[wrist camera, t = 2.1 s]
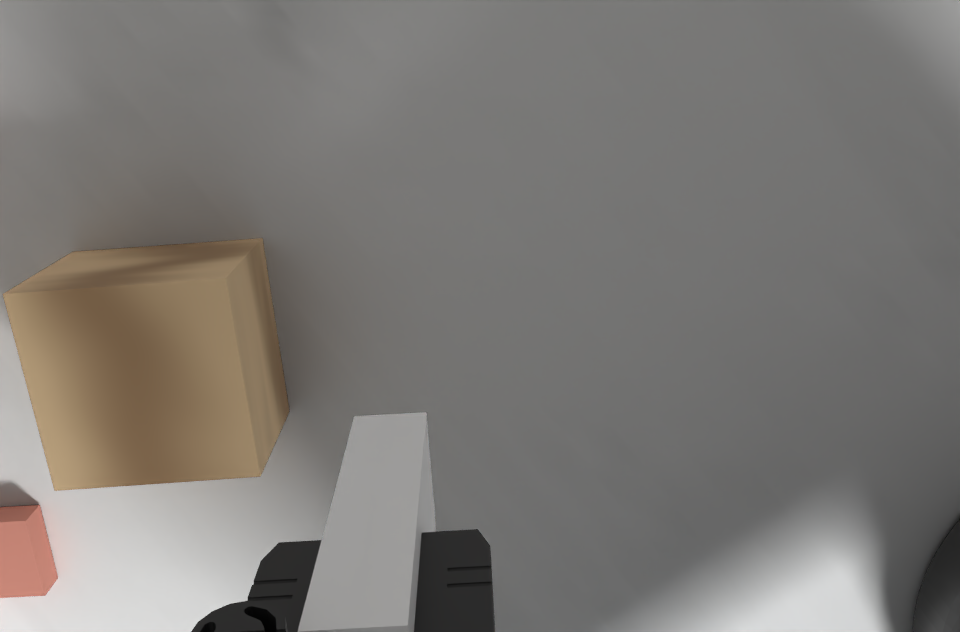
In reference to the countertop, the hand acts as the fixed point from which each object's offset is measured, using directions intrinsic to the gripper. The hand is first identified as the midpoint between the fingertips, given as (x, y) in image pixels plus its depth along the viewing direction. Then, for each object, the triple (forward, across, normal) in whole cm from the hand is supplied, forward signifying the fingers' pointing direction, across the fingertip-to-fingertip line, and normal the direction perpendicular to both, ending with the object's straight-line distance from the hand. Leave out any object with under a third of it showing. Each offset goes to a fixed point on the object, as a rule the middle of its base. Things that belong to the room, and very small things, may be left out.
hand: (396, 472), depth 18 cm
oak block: (+11, +8, 0) cm, 13 cm away
